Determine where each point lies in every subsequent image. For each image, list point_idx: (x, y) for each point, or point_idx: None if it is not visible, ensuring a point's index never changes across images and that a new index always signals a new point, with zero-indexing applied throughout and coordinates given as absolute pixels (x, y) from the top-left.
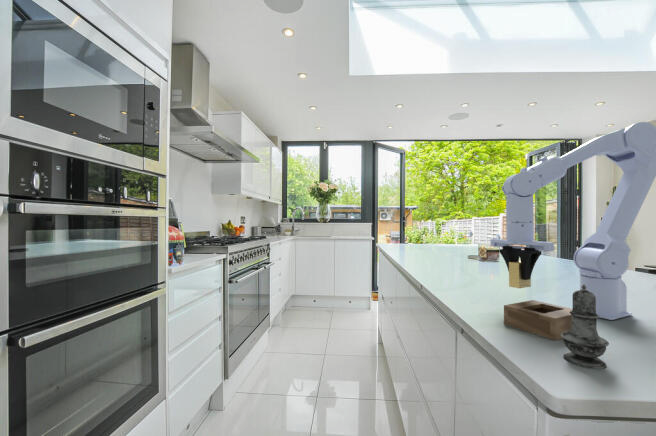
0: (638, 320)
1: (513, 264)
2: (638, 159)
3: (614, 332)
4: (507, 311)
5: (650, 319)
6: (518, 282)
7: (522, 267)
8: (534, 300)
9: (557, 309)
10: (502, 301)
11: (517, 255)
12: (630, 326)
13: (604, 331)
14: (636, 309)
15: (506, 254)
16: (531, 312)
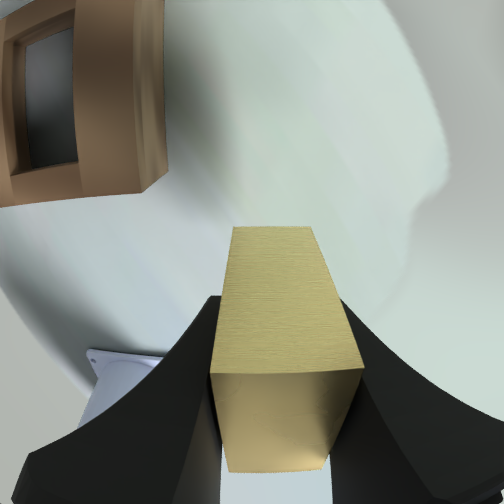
0: (90, 388)
1: (291, 350)
2: None
3: (20, 258)
4: None
5: None
6: (234, 245)
7: (200, 357)
8: (131, 190)
9: (33, 170)
10: (384, 288)
11: (341, 501)
12: (54, 336)
13: (26, 244)
14: None
15: (430, 447)
16: (27, 5)
